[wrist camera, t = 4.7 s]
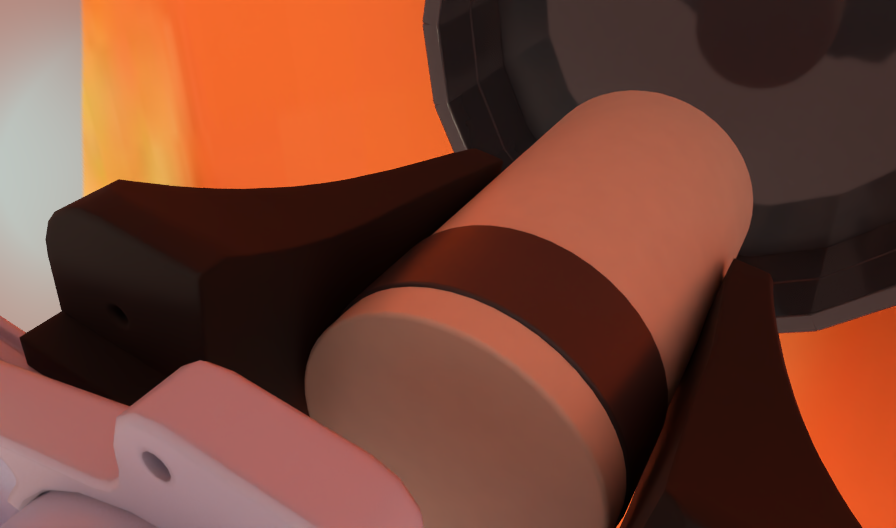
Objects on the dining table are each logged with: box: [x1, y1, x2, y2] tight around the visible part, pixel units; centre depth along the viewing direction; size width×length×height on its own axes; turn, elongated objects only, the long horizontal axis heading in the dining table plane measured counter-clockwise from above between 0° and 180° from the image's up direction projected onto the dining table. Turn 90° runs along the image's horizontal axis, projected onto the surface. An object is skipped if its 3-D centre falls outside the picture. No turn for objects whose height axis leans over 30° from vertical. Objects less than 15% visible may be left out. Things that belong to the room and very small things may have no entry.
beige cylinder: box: [304, 90, 753, 528], centre depth 12 cm, size 4×4×8 cm
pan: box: [423, 0, 896, 333], centre depth 18 cm, size 14×14×4 cm
